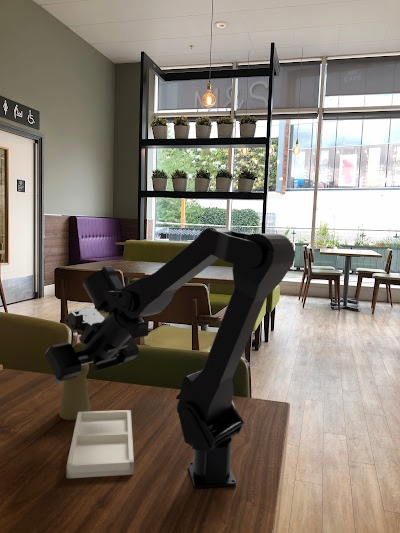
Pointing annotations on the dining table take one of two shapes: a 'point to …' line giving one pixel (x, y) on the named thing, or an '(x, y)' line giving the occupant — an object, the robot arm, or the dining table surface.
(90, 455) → the tray
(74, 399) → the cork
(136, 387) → the dining table surface
